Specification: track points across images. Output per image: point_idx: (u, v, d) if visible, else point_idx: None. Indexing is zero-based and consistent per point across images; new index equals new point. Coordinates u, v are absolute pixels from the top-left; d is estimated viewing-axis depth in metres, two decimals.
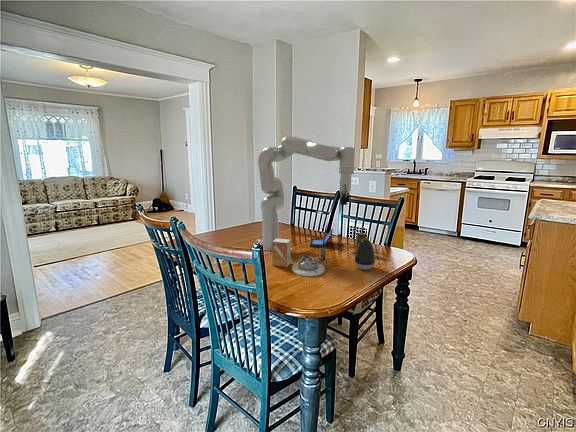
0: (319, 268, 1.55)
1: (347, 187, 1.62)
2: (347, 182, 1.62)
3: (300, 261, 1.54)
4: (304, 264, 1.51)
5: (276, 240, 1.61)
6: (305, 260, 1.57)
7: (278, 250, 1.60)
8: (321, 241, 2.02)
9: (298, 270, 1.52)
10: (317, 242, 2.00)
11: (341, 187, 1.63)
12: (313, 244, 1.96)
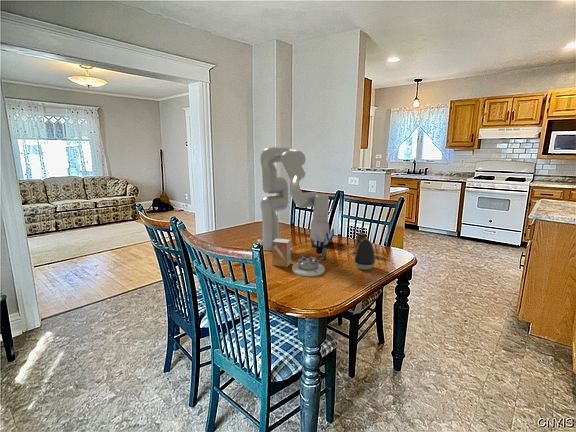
0: (319, 268, 1.55)
1: (328, 235, 1.58)
2: (328, 230, 1.58)
3: (300, 261, 1.54)
4: (303, 264, 1.51)
5: (276, 240, 1.61)
6: (305, 260, 1.57)
7: (278, 250, 1.60)
8: None
9: (298, 270, 1.52)
10: None
11: (324, 236, 1.57)
12: (314, 244, 1.96)
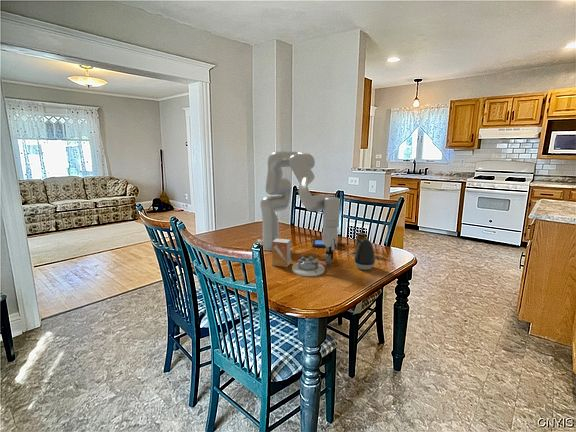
0: (319, 268, 1.55)
1: (336, 241, 1.49)
2: (336, 236, 1.48)
3: (301, 258, 1.58)
4: (298, 261, 1.55)
5: (276, 240, 1.61)
6: (309, 260, 1.58)
7: (278, 250, 1.60)
8: None
9: (298, 270, 1.52)
10: (319, 242, 2.00)
11: (330, 242, 1.48)
12: (315, 244, 1.96)
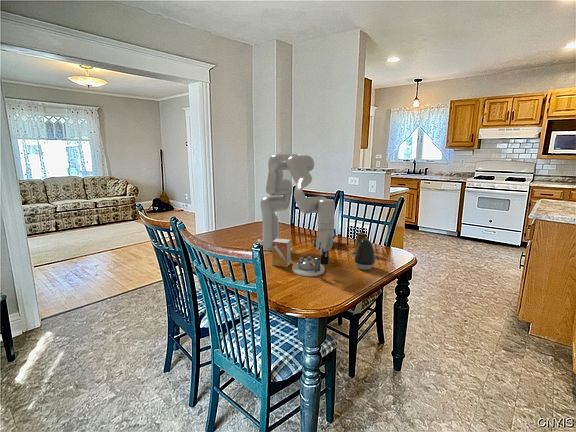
0: None
1: (324, 246, 1.41)
2: (324, 240, 1.41)
3: None
4: None
5: (276, 240, 1.61)
6: (312, 261, 1.56)
7: (278, 250, 1.60)
8: None
9: (298, 270, 1.52)
10: None
11: (317, 245, 1.43)
12: None
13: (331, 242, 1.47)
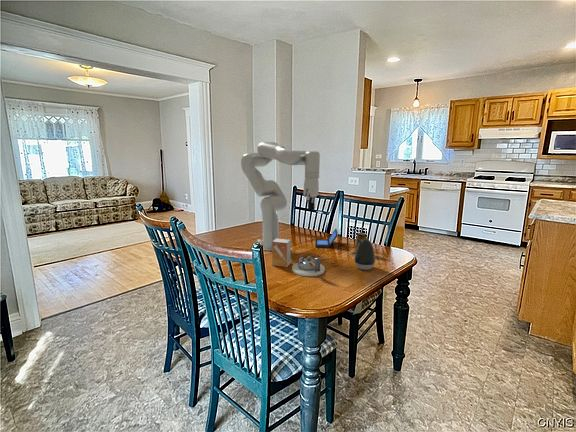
0: None
1: (310, 191, 1.62)
2: (310, 186, 1.62)
3: None
4: None
5: (276, 240, 1.61)
6: (312, 261, 1.56)
7: (278, 250, 1.60)
8: (326, 241, 2.02)
9: (298, 270, 1.52)
10: (322, 242, 2.00)
11: (304, 191, 1.64)
12: (318, 244, 1.96)
13: (317, 190, 1.68)
